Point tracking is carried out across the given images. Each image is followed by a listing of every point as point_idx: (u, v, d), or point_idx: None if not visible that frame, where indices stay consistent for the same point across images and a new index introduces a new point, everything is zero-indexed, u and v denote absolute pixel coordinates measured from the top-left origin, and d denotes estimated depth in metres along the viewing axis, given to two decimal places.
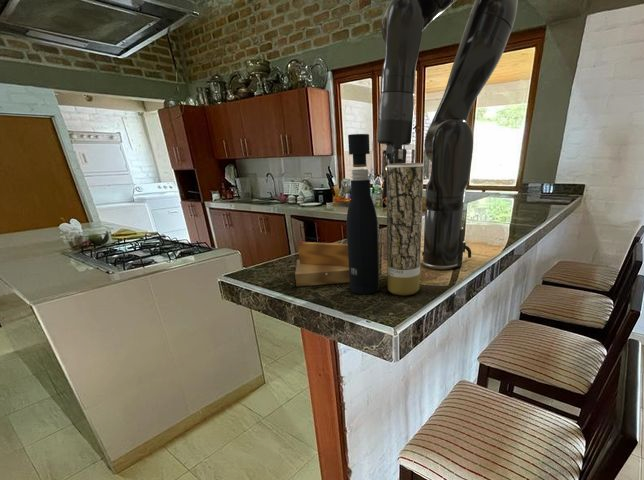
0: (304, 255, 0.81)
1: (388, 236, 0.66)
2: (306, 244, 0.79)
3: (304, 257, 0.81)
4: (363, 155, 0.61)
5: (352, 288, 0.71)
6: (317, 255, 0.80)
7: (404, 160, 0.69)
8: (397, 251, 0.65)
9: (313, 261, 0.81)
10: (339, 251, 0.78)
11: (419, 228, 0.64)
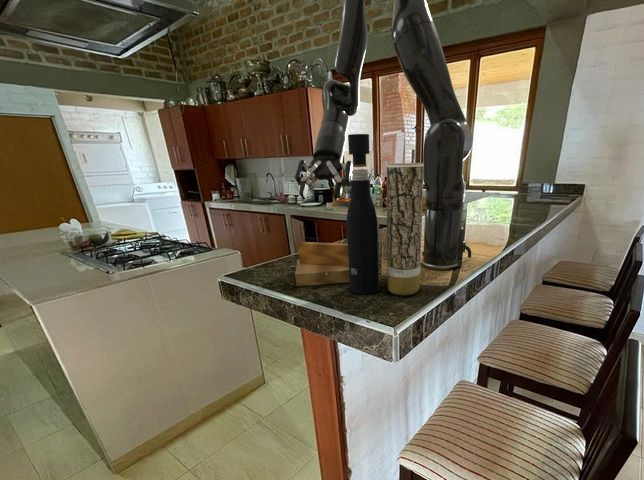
0: (304, 255, 0.81)
1: (388, 236, 0.66)
2: (306, 244, 0.79)
3: (304, 257, 0.81)
4: (363, 155, 0.61)
5: (352, 288, 0.71)
6: (317, 255, 0.80)
7: None
8: (397, 251, 0.65)
9: (313, 261, 0.81)
10: (339, 251, 0.78)
11: (419, 228, 0.64)
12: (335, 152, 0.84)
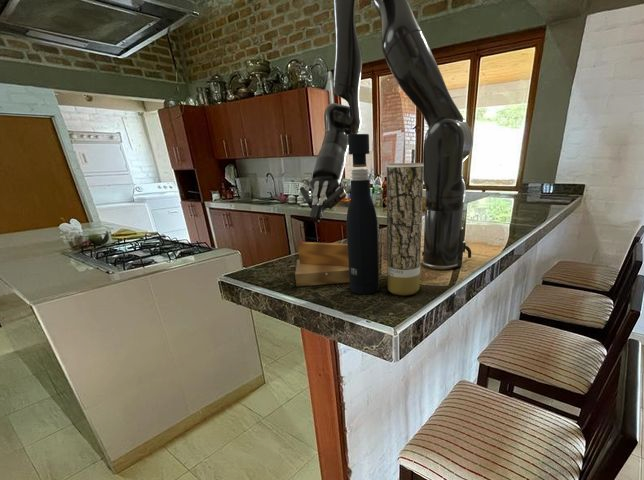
0: (304, 255, 0.81)
1: (388, 236, 0.66)
2: (306, 244, 0.79)
3: (304, 257, 0.81)
4: (363, 155, 0.61)
5: (352, 288, 0.71)
6: (317, 255, 0.80)
7: (302, 194, 0.87)
8: (397, 251, 0.65)
9: (313, 261, 0.81)
10: (339, 251, 0.78)
11: (419, 228, 0.64)
12: (332, 172, 0.86)
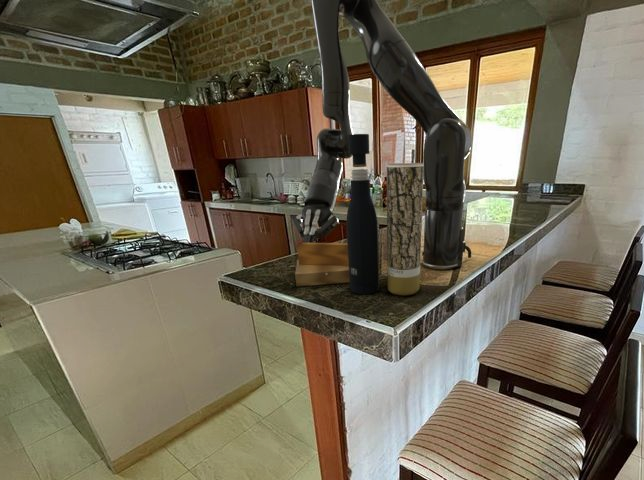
0: (303, 256, 0.80)
1: (388, 236, 0.66)
2: (306, 244, 0.79)
3: (303, 258, 0.80)
4: (363, 155, 0.61)
5: (352, 288, 0.71)
6: (317, 255, 0.80)
7: (294, 223, 0.85)
8: (397, 251, 0.65)
9: (313, 261, 0.80)
10: (340, 250, 0.78)
11: (419, 228, 0.64)
12: (325, 200, 0.83)
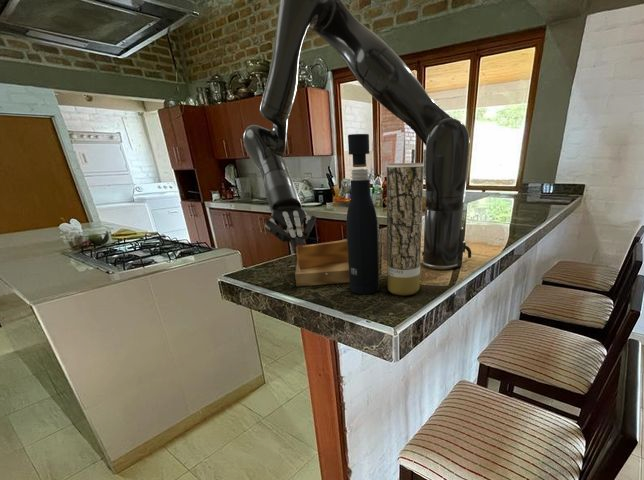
0: (305, 259, 0.78)
1: (388, 236, 0.66)
2: (307, 247, 0.77)
3: (305, 261, 0.78)
4: (363, 155, 0.61)
5: (352, 288, 0.71)
6: (319, 256, 0.79)
7: (272, 228, 0.78)
8: (397, 251, 0.65)
9: (315, 263, 0.79)
10: (341, 247, 0.80)
11: (419, 228, 0.64)
12: (298, 201, 0.81)
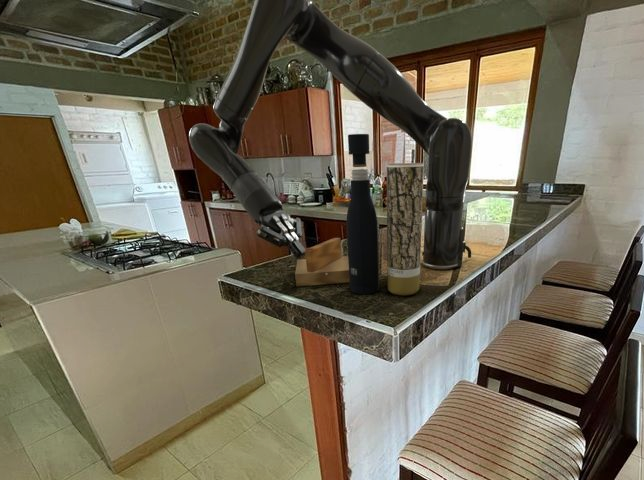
0: (315, 261, 0.76)
1: (388, 236, 0.66)
2: (316, 248, 0.75)
3: (315, 263, 0.76)
4: (363, 155, 0.61)
5: (352, 288, 0.71)
6: (323, 257, 0.78)
7: (268, 233, 0.73)
8: (397, 251, 0.65)
9: (321, 264, 0.78)
10: (336, 245, 0.83)
11: (419, 228, 0.64)
12: (281, 204, 0.78)
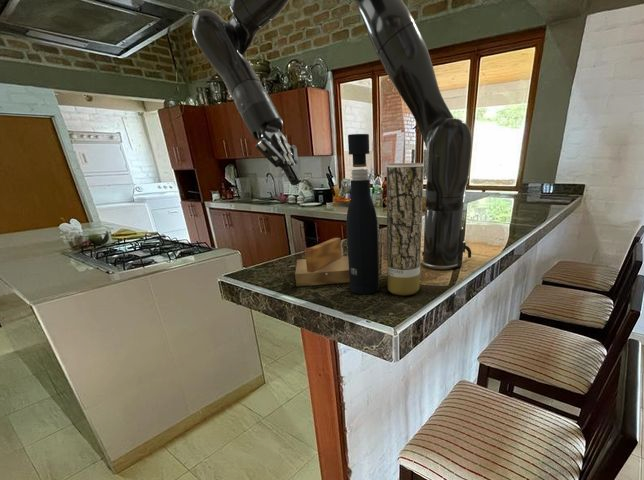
0: (315, 261, 0.76)
1: (388, 236, 0.66)
2: (316, 248, 0.75)
3: (315, 263, 0.76)
4: (363, 155, 0.61)
5: (352, 288, 0.71)
6: (323, 257, 0.78)
7: (270, 148, 0.70)
8: (397, 251, 0.65)
9: (321, 264, 0.78)
10: (336, 245, 0.83)
11: (419, 228, 0.64)
12: (282, 125, 0.76)
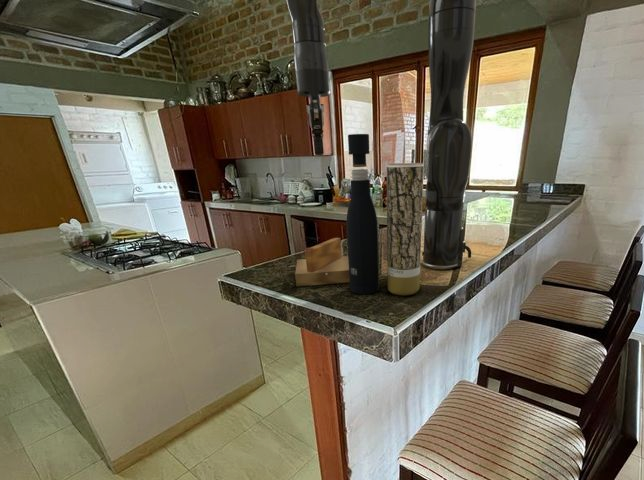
0: (315, 261, 0.76)
1: (388, 236, 0.66)
2: (316, 248, 0.75)
3: (315, 263, 0.76)
4: (363, 155, 0.61)
5: (352, 288, 0.71)
6: (323, 257, 0.78)
7: (320, 119, 0.76)
8: (397, 251, 0.65)
9: (321, 264, 0.78)
10: (336, 245, 0.83)
11: (419, 228, 0.64)
12: None
